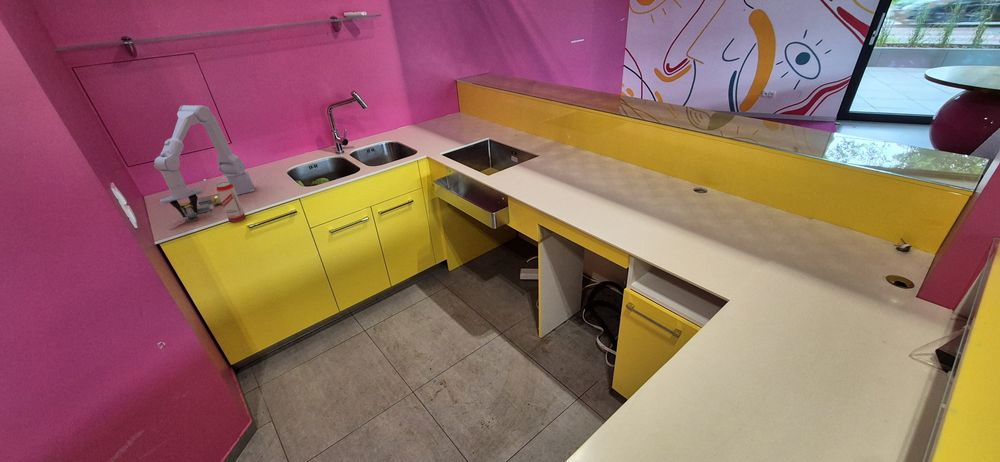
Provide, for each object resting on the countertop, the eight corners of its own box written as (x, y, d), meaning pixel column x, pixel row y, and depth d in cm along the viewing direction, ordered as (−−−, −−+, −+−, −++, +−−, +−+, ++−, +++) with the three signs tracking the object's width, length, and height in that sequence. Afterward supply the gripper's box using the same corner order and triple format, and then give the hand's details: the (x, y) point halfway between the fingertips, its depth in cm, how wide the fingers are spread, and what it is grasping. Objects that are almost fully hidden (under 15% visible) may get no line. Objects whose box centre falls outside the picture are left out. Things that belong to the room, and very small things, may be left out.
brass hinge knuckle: (210, 204, 190) (206, 196, 188) (210, 210, 184) (206, 202, 182) (184, 209, 186) (180, 201, 184) (183, 216, 180) (179, 208, 178)
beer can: (233, 216, 179) (219, 181, 171) (248, 215, 180) (235, 180, 172) (226, 223, 174) (211, 187, 166) (241, 221, 174) (227, 186, 166)
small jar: (199, 215, 180) (192, 201, 176) (197, 219, 177) (189, 205, 173) (189, 217, 179) (182, 203, 176) (186, 221, 176) (178, 207, 172)
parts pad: (198, 216, 181) (198, 215, 180) (198, 220, 177) (198, 219, 177) (186, 218, 179) (186, 218, 178) (186, 223, 175) (185, 222, 175)
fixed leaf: (225, 196, 198) (221, 188, 196) (225, 204, 190) (222, 195, 188) (200, 201, 193) (196, 193, 191) (200, 210, 186) (196, 201, 184)
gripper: (193, 176, 177) (206, 205, 184) (152, 188, 168) (167, 217, 174) (198, 180, 173) (211, 209, 179) (157, 192, 163) (172, 222, 170)
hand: (190, 214), depth 177 cm, fingers closed on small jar, 4 cm apart
